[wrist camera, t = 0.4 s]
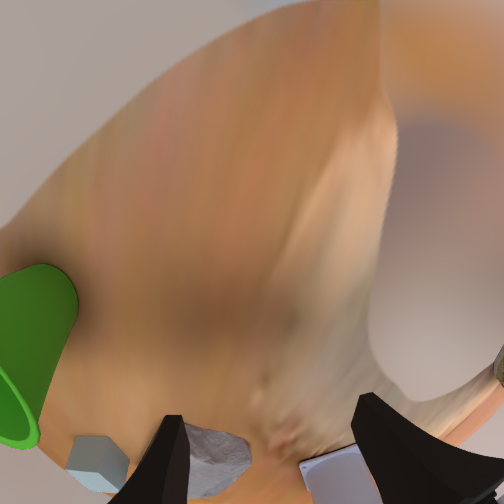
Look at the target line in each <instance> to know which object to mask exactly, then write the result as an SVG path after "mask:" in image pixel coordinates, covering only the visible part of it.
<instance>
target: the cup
mask: <svg viewBox="0 0 504 504" xmlns="http://www.w3.org/2000/svg"><path fill="white" fill-rule="evenodd" d="M77 312H78V300H77V295H76V292H75V289H74V287H73V285H72V283H71V281H70V280H69V279H68V277H67V276H66V275H65V274H64V273H63V272H62V271H60V270H59V269H57V268H55V267H54V266H50V265H46V264H36V265H33V266H30V267H28V268H25V269H22V270H19V271H17V272H14V273H11V274H9V275H6V276H3V277H1V278H0V443H2V444H4V445H7V446H9V447H12V448H16V449H21V450H24V449H31V448H33V447H34V446H35V445H37V444H38V443H39V441H40V435H41V433H40V429H39V425H38V421H39V417H40V414H41V410H42V407H43V404H44V401H45V398H46V395H47V391H48V388H49V386H50V383H51V380H52V377H53V374H54V371H55V369H56V366H57V363H58V361H59V358H60V355H61V353H62V350H63V348H64V345H65V343H66V340H67V338H68V336H69V333H70V331H71V329H72V326H73V324H74V322H75V319H76V317H77Z"/></svg>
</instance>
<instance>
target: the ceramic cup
mask: <svg viewBox="0 0 504 504" xmlns="http://www.w3.org/2000/svg"><path fill="white" fill-rule="evenodd" d="M493 371H494V374H495V376H496V377H497V379H498V380H499V382H500V383H501V385H502V386H503V388H504V345H503V347H502V349H501V350H500V352H499V354H498V356H497V358H496V359H495V362H494V369H493Z"/></svg>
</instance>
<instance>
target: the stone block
mask: <svg viewBox="0 0 504 504" xmlns="http://www.w3.org/2000/svg"><path fill="white" fill-rule="evenodd" d="M184 425H185V429H186V432H187V436H188V439H189V442H190V474H189V484H188V495H187V499H191V498H199V499H201V498H205V497H207V498H209V497H212V496H217V495H218V494H219V493H220V492H221V491H223V490H225V489H227V488H228V487H229V486H230V485H232V484H233V483H234V481H235V480H236V479H237V477H239V476H240V475H242V473H243V472H244V471H245V470H247V468H248V467H249V466H250V465H251V462H252V461H251V460H252V456H251V451H250V449H249V447H248V445H247V444H246V442H245V440H244V439H242V438H240V437H236V436H234V435H231V434H229V433H226V432H221V431H214V430H210V429H201V428H198V427H195V426H192V425H189V424H184ZM159 428H160V427H159ZM158 430H159V429H158ZM157 432H158V431H157ZM156 434H157V433H156ZM155 436H156V435H155ZM154 438H155V437H154ZM153 440H154V439H153ZM153 440H152V442H153ZM152 442H151V444H152ZM151 444H150V445H151ZM149 447H150V446H149ZM148 449H149V448H148ZM148 449H147V451H148ZM147 451H146V452H147ZM145 454H146V453H145ZM144 456H145V455H144ZM143 458H144V457H143ZM141 461H142V460H141Z"/></svg>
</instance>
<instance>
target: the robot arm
mask: <svg viewBox="0 0 504 504" xmlns="http://www.w3.org/2000/svg"><path fill="white" fill-rule="evenodd" d="M351 428H352V431H353V434H354V437H355V440H356V443H357V444H354V445H352V446H349V447H346V448H344V449H341V450H338V451H335V452H332V453H329V454H326V455H323V456H320V457H317V458H313V459H310V460H307V461H303V462H301V463H299V467H300V470H301V473H302V476H303V479H304V482H305V485H306V488H307V491H308V492H311V495H312V498H313V502H314V504H504V495H503V496H501V497H500V498H499V499H498V500H497V501H496V500H495V498H494V497H495V496H497V493H496V492H495V489H496V488H497V487H498V486H499V485H500V484H501V483H502V482H503V481H504V459H502V458H495V457H488V456H483V455H479V454H475V453H471V452H468V451H465V450H462V449H459V448H457V447H454V446H452V445H450V444H447V443H445V442H443V441H441V440H439V439H437V438H435V437H433V436H432V435H430V434H428V433H427V432H425V431H423V430H422V429H420V428H419V427H417V426H416V425H414V424H413V423H411V422H410V421H409V420H407V419H406V418H404V417H403V416H402V415H400V414H399V413H398V412H397V411H395V410H394V409H393V408H392V407H390V406H389V405H388V404H387V403H385V402H384V401H383V400H382V399H380V398H379V397H378V396H377V395H376V394H374V393H373V392H370V393H366V394H362V395H360V396H359V399H358V403H357V406H356V409H355V413H354V416H353V419H352V422H351ZM365 462H366V463H365ZM366 464H367V466H368V468H369V470H370V472H371V474H372V476H373V478H374V480H375V482H376V485H377V487H378V489H377V487H376V485H375V483H374V481H373V479H372V476H371V474H370V472H369V470H368V468H367V466H366ZM189 474H190V442H189V439H188V436H187V432H186V429H185V425H184V422H183V418H182V415H166V416H165V417H164V419H163V421H162V423H161V426H160V428H159V430H158V432H157V434H156V436H155V438H154V440H153V442H152V444H151V445H150V447H149V449H148V451H147V452H146V454H145V456H144V458H143V459H142V461H141V462H140V464H139V465H138V467H137V468H136V470H135V471H134V473H133V474H132V476H131V477H130V478H129V480H128V481H127V482H126V483H125V485H124V486H123V487H122V488H121V489H120V491H119V492H118V493H117V494H116V495H115V496H114V497H113V498H112V499H111V500H110V502H108V503H107V504H187V495H188V484H189ZM378 490H379V492H378ZM379 493H380V494H379Z"/></svg>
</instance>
